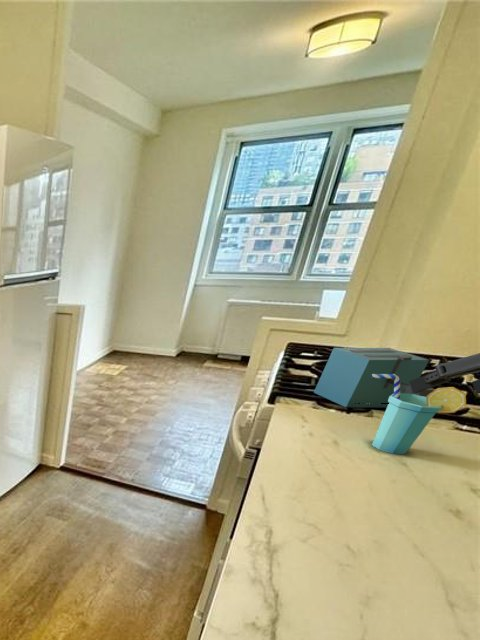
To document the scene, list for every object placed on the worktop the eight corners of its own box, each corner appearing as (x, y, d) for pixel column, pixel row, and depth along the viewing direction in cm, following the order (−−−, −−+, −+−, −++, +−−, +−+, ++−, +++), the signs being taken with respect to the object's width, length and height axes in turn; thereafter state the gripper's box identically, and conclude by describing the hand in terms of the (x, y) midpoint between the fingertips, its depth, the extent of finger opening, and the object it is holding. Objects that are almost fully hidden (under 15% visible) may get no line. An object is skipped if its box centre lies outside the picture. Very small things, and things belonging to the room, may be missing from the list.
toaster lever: (394, 384, 114) (399, 376, 113) (432, 398, 107) (437, 390, 106) (379, 384, 114) (384, 376, 113) (416, 398, 107) (421, 390, 106)
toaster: (366, 392, 126) (391, 343, 120) (409, 410, 116) (438, 357, 110) (313, 392, 126) (335, 343, 120) (351, 410, 116) (377, 357, 110)
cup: (342, 445, 99) (377, 376, 92) (336, 432, 105) (369, 366, 98) (436, 464, 93) (482, 391, 86) (424, 448, 98) (466, 378, 91)
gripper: (521, 355, 81) (392, 403, 102) (666, 355, 81) (508, 403, 102) (504, 316, 83) (381, 371, 104) (645, 317, 84) (495, 371, 104)
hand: (444, 387), depth 103 cm, fingers open, 13 cm apart
